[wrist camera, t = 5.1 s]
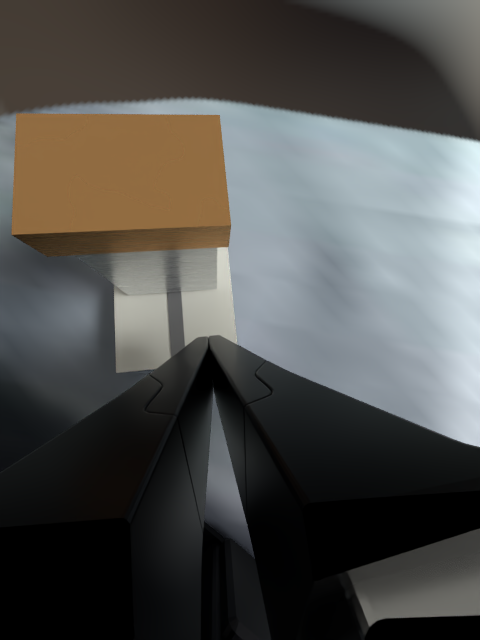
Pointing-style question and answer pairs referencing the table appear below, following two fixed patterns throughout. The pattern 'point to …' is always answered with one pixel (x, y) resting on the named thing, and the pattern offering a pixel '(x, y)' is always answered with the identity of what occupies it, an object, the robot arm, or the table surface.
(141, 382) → the robot arm
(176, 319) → the block
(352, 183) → the table surface
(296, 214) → the table surface
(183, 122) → the handle
